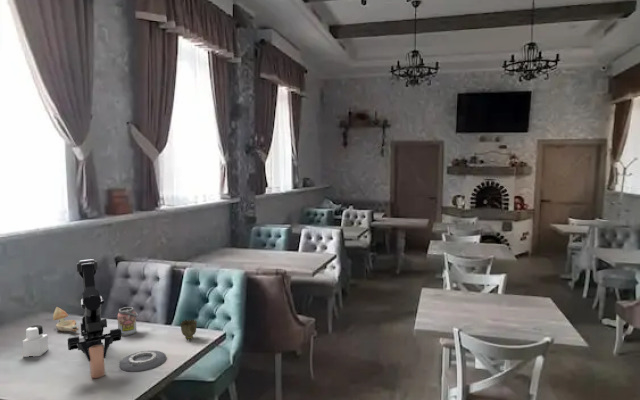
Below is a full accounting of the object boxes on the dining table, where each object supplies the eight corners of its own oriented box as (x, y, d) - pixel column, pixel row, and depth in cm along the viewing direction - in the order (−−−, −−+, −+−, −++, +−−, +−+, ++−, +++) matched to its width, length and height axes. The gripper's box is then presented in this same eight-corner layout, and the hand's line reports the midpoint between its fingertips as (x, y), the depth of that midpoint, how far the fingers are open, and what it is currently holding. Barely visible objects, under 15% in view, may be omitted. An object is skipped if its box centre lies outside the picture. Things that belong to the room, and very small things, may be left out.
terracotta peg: (87, 377, 169) (85, 349, 169) (96, 371, 174) (94, 344, 173) (99, 378, 169) (97, 350, 168) (107, 372, 174) (106, 344, 173)
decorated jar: (137, 328, 222) (136, 304, 221) (140, 333, 215) (139, 309, 214) (117, 332, 217) (116, 308, 217) (119, 337, 210) (118, 313, 209)
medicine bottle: (32, 350, 198) (30, 324, 197) (48, 349, 198) (47, 323, 197) (22, 357, 191) (20, 330, 190) (40, 356, 191) (38, 329, 190)
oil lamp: (67, 323, 232) (65, 304, 231) (85, 332, 219) (84, 312, 218) (48, 328, 225) (47, 309, 225) (66, 337, 212) (65, 317, 211)
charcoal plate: (109, 370, 177) (109, 368, 177) (135, 351, 194) (135, 349, 194) (151, 372, 174) (150, 370, 173) (173, 353, 191) (173, 351, 191)
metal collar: (123, 364, 180) (123, 361, 179) (138, 353, 190) (138, 350, 190) (147, 366, 178) (147, 363, 178) (161, 354, 188) (161, 352, 188)
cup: (192, 342, 203) (191, 325, 203) (178, 341, 205) (177, 324, 204) (200, 335, 211) (199, 319, 210) (186, 335, 212) (185, 318, 211)
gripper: (66, 317, 168) (68, 356, 160) (119, 308, 178) (124, 344, 169) (67, 330, 176) (69, 368, 167) (118, 321, 185) (123, 357, 176)
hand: (97, 359), depth 170 cm, fingers closed on terracotta peg, 5 cm apart
